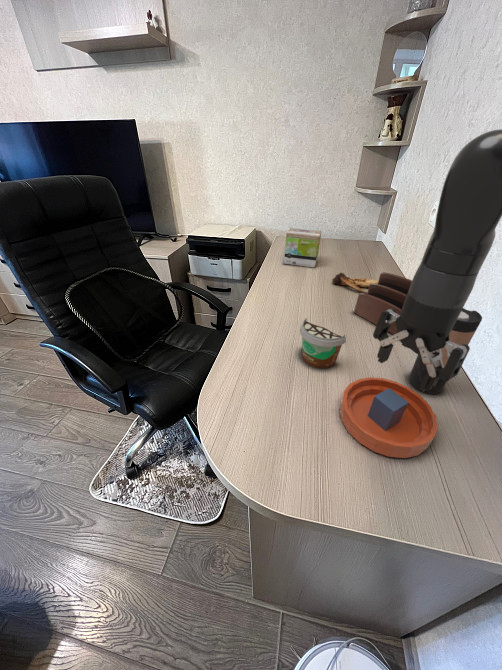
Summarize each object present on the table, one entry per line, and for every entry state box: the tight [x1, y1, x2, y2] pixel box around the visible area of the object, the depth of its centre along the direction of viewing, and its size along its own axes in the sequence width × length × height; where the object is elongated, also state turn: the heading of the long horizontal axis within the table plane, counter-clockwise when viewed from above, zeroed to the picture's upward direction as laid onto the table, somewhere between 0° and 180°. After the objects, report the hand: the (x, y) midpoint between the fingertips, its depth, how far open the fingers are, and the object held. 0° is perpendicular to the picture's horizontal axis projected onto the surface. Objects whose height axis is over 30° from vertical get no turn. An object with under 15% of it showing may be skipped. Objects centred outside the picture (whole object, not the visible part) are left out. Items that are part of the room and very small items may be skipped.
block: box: [367, 388, 409, 431], centre depth 56 cm, size 4×4×6 cm
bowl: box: [339, 377, 439, 459], centre depth 57 cm, size 18×18×4 cm
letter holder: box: [353, 271, 413, 335], centre depth 86 cm, size 10×20×14 cm, turn 31°
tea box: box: [283, 227, 322, 268], centre depth 131 cm, size 15×10×15 cm, turn 73°
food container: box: [299, 317, 347, 369], centre depth 71 cm, size 12×6×10 cm, turn 47°
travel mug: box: [408, 307, 483, 395], centre depth 62 cm, size 8×8×20 cm
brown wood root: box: [331, 272, 379, 294], centre depth 111 cm, size 9×5×18 cm
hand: (402, 374), depth 51 cm, fingers open, 8 cm apart
